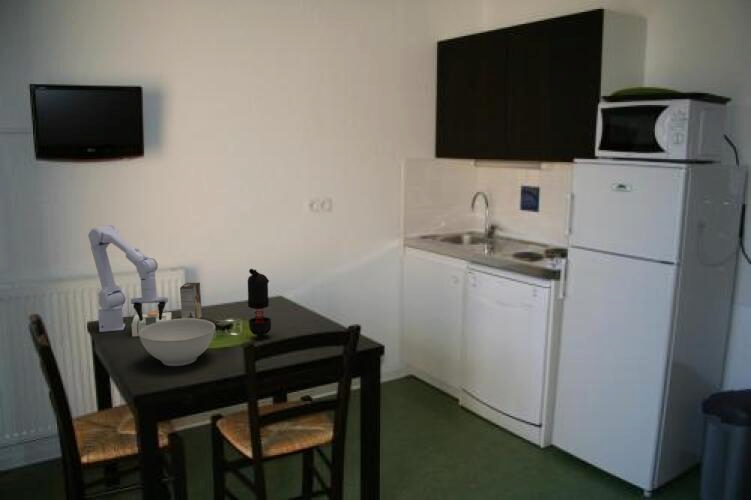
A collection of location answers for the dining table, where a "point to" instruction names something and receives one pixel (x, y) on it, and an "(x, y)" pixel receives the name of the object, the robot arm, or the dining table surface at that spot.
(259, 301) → the filter
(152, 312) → the brown egg
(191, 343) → the decorative bowl
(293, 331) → the dining table surface
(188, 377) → the dining table surface
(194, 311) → the coffee box
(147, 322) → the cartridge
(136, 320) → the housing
